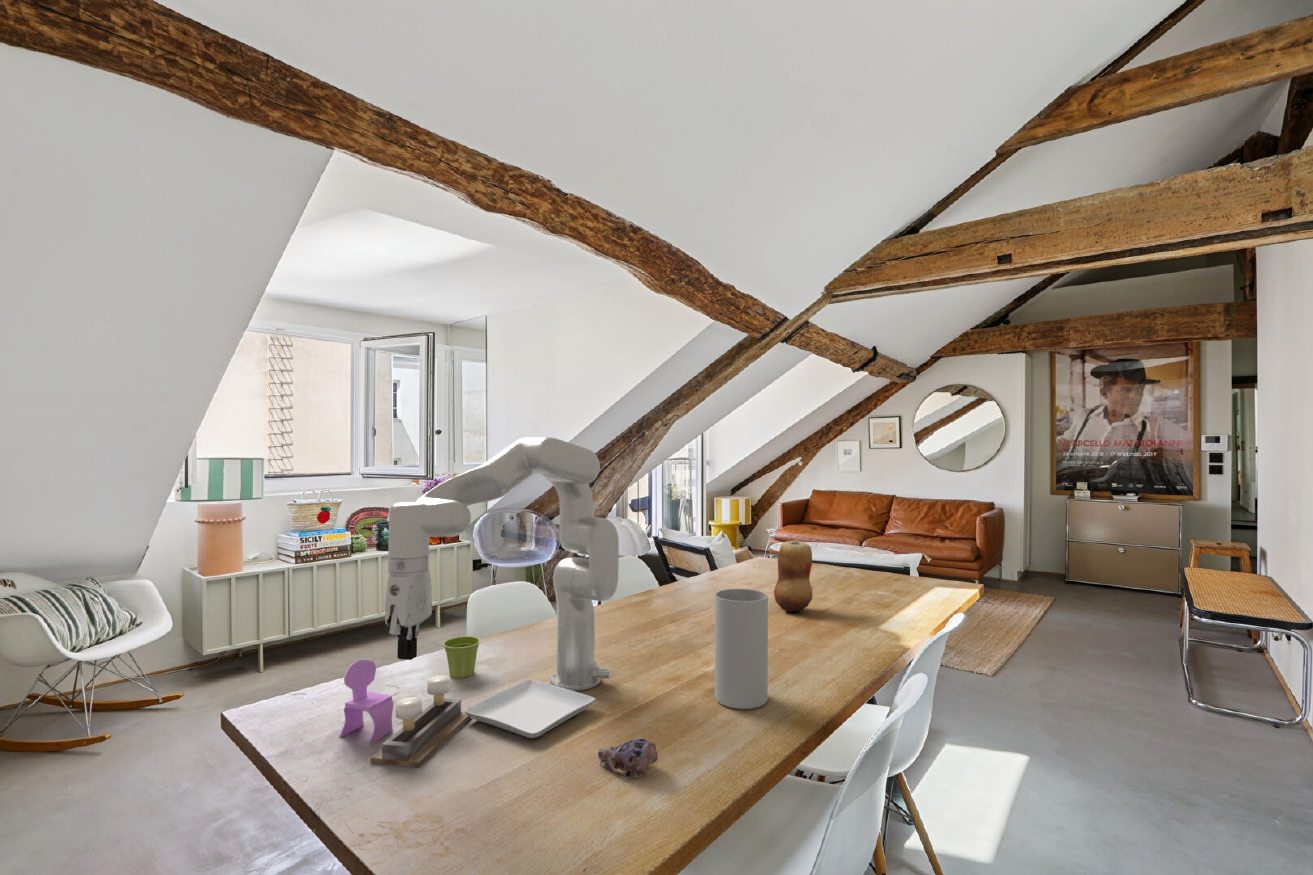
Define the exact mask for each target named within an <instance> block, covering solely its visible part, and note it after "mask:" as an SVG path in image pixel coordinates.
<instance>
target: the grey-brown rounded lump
mask: <svg viewBox="0 0 1313 875" xmlns="http://www.w3.org/2000/svg"><path fill="white" fill-rule="evenodd" d="M597 755H598V759H599V760H600V763H599V764H600V766H602V764H603V763H604V766H605V768H606V769H607V770H610V772H612V773H613V772H614V773H617V774H621V775H625V777H626V778H627V779H635V778H640V777H642V776H645V775H646V774H647V772H648V771H650V770H652V769H651V765H653V764H654V763H656V762H657V761H658V759H659V754H658V751H657V746H656V744H655V743H653V742H651V741H649V740H647V739H646V738H643V737H636V738H633V739H630V740H628V741H625V742H622V743H621V744H620V745H617V746H604V747H603V748H599V749H598V752H597ZM623 767H624V769H623Z"/></svg>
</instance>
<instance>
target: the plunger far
mask: <svg viewBox="0 0 1313 875" xmlns="http://www.w3.org/2000/svg"><path fill="white" fill-rule="evenodd" d="M451 679H452V677H451V676H450V675H449V676H448V675H435V676H432V677H429V678H428V679H427V680H426V681H427V682H426V685H427V686H426V688H427V689H426V692H427V694H428V695H430V696H433V703H434V705H435V706H440V705H443V704H444V699H445V694H447V693H450V692H451V691H452V689H451V686H452V685H451V684H452V683H451V682H452V680H451Z"/></svg>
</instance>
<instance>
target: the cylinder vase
mask: <svg viewBox="0 0 1313 875" xmlns="http://www.w3.org/2000/svg"><path fill="white" fill-rule="evenodd" d="M768 600H769V595H768V594H767V593H766V592H763V591H760V590H756V589H750V588H727V589H721V590H718V591H716V592H715V593H714V698H715V700H716V701H717V702H718V703H719V704H720V705H722V706H724V707H727V708H730V709H736V710H754V709H758V708H761V707H762V706H764V705H765V704H766V703H767V701H768V696H769V695H768V691H769V689H768V686H769V685H768V682H769V681H768V678H769V676H768V674H769V672H768V670H769V668H768V667H769V665H768V660H769V659H768V658H769V657H768V656H769V655H768V654H769V651H768V649H769V647H768V645H769V643H768V641H769V639H768V638H769V636H768V634H769V632H768V631H769V624H768V623H769V622H768V621H769V618H768V617H769V611H768V610H769V601H768Z"/></svg>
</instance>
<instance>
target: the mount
mask: <svg viewBox="0 0 1313 875" xmlns="http://www.w3.org/2000/svg"><path fill="white" fill-rule="evenodd" d="M470 719H472V718H471V717H469V716H468V715H467V714H466V713H465V712H464V711H463V712H462V700H461V699H457V698H456V699H454V698H444V704H443V705H440V706H435V705H434V702H433V703H431V704H430V705H428V706H427V707H426V708H425V709H424V710H423V711H422V713H421V715H420V716H418V717H416V718H415V728H414V729H413V730H410V731H404V730H403V727H401V728H400V729H399V730H398V731H396V732H395V733H394V734H393V735H392V736H390V737H389V738H388V739H387V740H386V741H384V742H382V744H381V749H379V750H378V751H377V752H375V754H373V755H372V756H371V757H370V764H377V765H378V764H379V765H385V766H386V765H388V766H399V767H409V768H410V767H411V768H420V767H421V766H422V765H423V764H424V763H425V762H426V761H427V760H429V758H431V757H432V756H433V755H434V754H435V753H436V752H437V751H438V750H439V749H440V748H441V747H442V746H443V745H444V744H445V743H446V742H447V741H449V739H450V738H451V737H453V735H455V734H456V733H457V732H458V731H459V730H460V729H461V728H462V727H463V726H464V725H465V724H466V723H467V722H468V721H469V720H470Z"/></svg>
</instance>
